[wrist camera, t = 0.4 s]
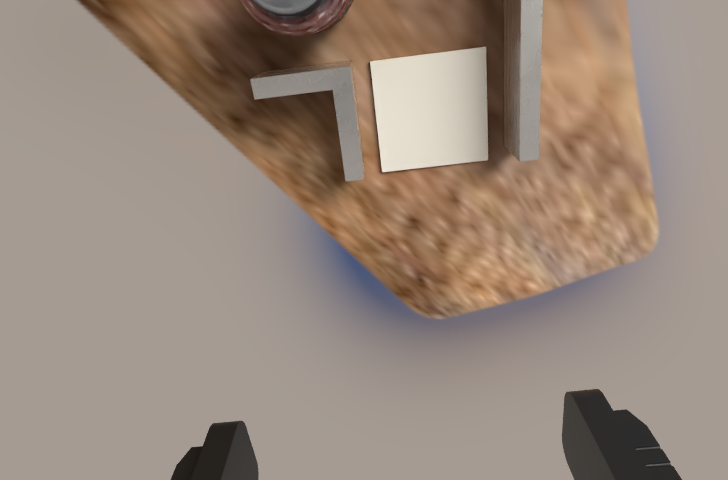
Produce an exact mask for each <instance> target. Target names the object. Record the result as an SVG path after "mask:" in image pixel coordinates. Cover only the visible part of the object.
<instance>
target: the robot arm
mask: <svg viewBox="0 0 728 480" xmlns="http://www.w3.org/2000/svg"><path fill="white" fill-rule="evenodd" d="M562 443H563V449H564V453H565V457H566V460H567V463H568V465H569V468H570V470H571V472H572V475H573V477H574V479H575V480H682V479H681V478H680V476H679V475H678V473H677V471H676V470H675V468H674V467H673V466H671V464H670V461H669V459H668V458H667V456H666V454H665V453H664V451H663V450H662V449H660V446H659V444H658V442H657V441H656V439H655V438H654V436H653V435H652V433H651V431H650V430H649V428H648V427H647V426H646V425H645V424H644V423H643V422H641V421H640V420H639V419H638V418H637V417H635V416H634V415H632V414H631V413H630V412H629V411H628V410H616V411H613V410H612V408H611V406H610V405H609V403H608V401H607V400H606V398H605V396H604V395H603V393H602V392H601V391H600V390H599V389H593V390H583V391H571V392H566V394H565V398H564V414H563V430H562ZM171 480H258V465H257V461H256V457H255V454H254V451H253V448H252V444H251V441H250V438H249V435H248V432H247V428H246V426H245V423H244V422H243V421H235V422H223V423H213V424H212V425H211V427H210V428H209V431H208V433H207V436H206V439H205V442H204V444H203V446H202V447H192V448H191V449H190V450H189V451H188V452H187V454H186V455H185V456H184V457H183V458H182V460H181V461H180V462H179V463H178V464H177V466H176V468H175V470H174V473H173V475H172V478H171Z"/></svg>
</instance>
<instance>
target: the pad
mask: <svg viewBox="0 0 728 480" xmlns="http://www.w3.org/2000/svg"><path fill="white" fill-rule="evenodd" d="M370 66H371V75H372V84H373V93H374V102H375V112H376V121H377V130H378V139H379V148H380V157H381V166H382V172H389V171H398V170H407V169H415V168H424V167H433V166H442V165H450V164H459V163H468V162H477V161H485V160H488V121H487V65H486V47H478V48H470V49H463V50H455V51H447V52H439V53H431V54H423V55H415V56H407V57H400V58H392V59H384V60H376V61H370Z"/></svg>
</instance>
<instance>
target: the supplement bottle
mask: <svg viewBox="0 0 728 480" xmlns="http://www.w3.org/2000/svg"><path fill="white" fill-rule="evenodd" d="M240 2H241V4H242V5H243V7H244V8H245V10H246V11H247V12H248V13H249V14H250V15H251V16H252V17H253V18H254V19H255V20H256V21H257V22H258V23H260V24H261V25H262V26H264V27H265V28H267V29H269V30H271V31H273V32H276V33H279V34H283V35H289V36H303V35H309V34H313V33H317V32H319V31H322V30H325V29H327V28H330V27H332V26H333V25H334V24H336V23H337V22H338V21H340V19H341V18H342V17H343V16H344V15H345V14H346V12H347V11H348V9H349V7H350V6H351V3H352V2H353V0H240Z"/></svg>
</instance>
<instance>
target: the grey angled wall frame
mask: <svg viewBox="0 0 728 480" xmlns="http://www.w3.org/2000/svg"><path fill="white" fill-rule="evenodd" d="M503 9H504V147H505V148H506V149H507V150H508V151H509V152H510V153H511V154H512V155H513V156H515V157H516V158H517V159H518V160H519V161H529V160H538V159H539V128H540V88H541V49H542V9H543V0H503ZM250 80H251V85H252V90H253V95H254V100H255V99H263V98H271V97H279V96H287V95H295V94H303V93H311V92H319V91H327V90H333V96H334V103H335V110H336V117H337V124H338V131H339V138H340V145H341V152H342V159H343V166H344V173H345V180H346V181H354V180H362V179H364V156H363V148H362V139H361V131H360V123H359V115H358V107H357V99H356V91H355V83H354V75H353V67H352V60H351V61H343V62H335V63H327V64H319V65H311V66H304V67H296V68H288V69H280V70H272V71H264V72H262V73H260V74H258V75H256V76H255V77H253V78H251V79H250Z"/></svg>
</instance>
